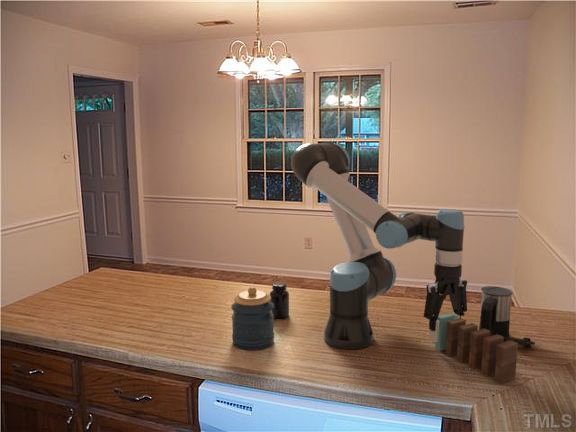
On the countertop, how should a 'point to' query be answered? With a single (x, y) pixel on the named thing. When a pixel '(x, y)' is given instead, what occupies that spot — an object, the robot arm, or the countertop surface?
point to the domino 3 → (464, 341)
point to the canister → (252, 320)
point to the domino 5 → (490, 354)
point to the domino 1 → (443, 330)
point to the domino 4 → (477, 348)
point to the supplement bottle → (280, 300)
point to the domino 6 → (506, 362)
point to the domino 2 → (453, 335)
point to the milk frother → (498, 313)
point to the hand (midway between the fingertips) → (444, 337)
